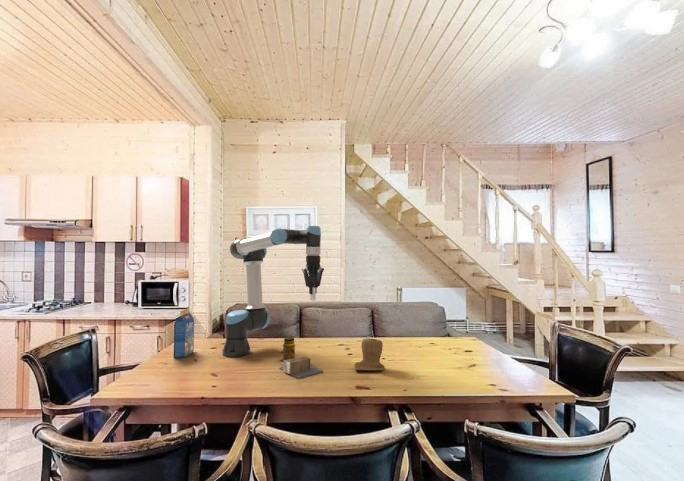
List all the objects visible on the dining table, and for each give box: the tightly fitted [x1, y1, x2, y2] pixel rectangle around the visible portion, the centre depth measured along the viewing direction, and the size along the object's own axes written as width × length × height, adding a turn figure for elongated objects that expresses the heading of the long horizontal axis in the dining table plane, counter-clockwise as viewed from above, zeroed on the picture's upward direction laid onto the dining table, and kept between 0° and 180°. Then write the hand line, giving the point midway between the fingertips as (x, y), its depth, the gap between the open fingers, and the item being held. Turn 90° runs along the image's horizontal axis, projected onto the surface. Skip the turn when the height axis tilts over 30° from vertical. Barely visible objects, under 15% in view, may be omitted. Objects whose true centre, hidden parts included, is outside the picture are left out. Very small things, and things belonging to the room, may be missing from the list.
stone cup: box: [353, 337, 386, 372], centre depth 176 cm, size 15×12×15 cm
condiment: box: [277, 336, 296, 365], centre depth 188 cm, size 7×8×12 cm
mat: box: [279, 364, 324, 379], centre depth 173 cm, size 17×14×1 cm
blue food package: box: [173, 307, 195, 359], centre depth 197 cm, size 6×12×25 cm, turn 1°
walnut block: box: [282, 355, 311, 375], centre depth 172 cm, size 5×5×12 cm
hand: (312, 300), depth 187 cm, fingers closed
